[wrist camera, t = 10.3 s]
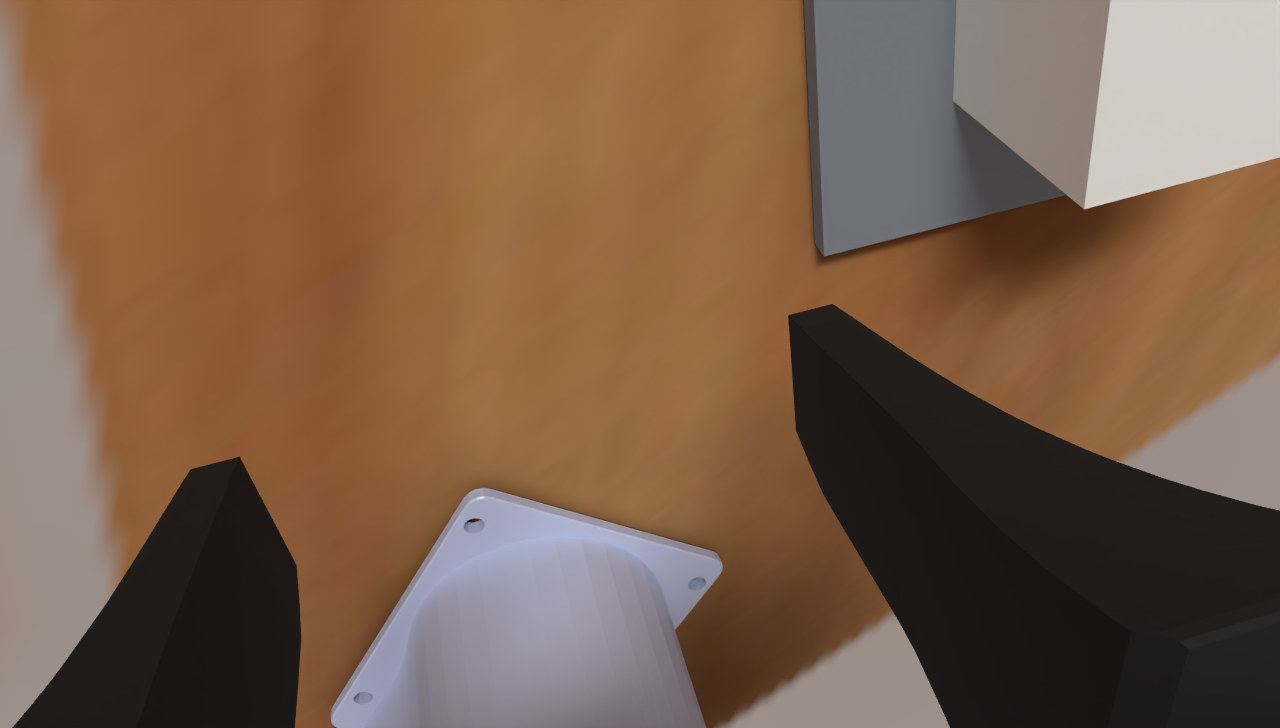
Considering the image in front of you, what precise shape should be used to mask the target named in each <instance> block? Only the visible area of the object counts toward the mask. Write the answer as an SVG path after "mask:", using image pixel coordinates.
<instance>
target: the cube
mask: <svg viewBox="0 0 1280 728" xmlns="http://www.w3.org/2000/svg"><path fill="white" fill-rule="evenodd" d="M953 101H954V102H955V103H956V104H957V105H959V106H960V107H961V108H962V109H963V110H965V111H966V112H967V113H968V114H969V115H971V116H972V117H973V118H974V119H975V120H977V121H978V122H979V123H980V124H982V125H983V126H984V127H985V128H986V129H988V130H989V131H990V132H991V133H992V134H994V135H995V136H996V137H997V138H998V139H1000V140H1001V141H1002V142H1003V143H1005V144H1006V145H1007V146H1008V147H1009V148H1011V149H1012V150H1013V151H1014V152H1015V153H1017V154H1018V155H1019V156H1020V157H1021V158H1023V159H1024V160H1025V161H1026V162H1027V163H1029V164H1030V165H1031V166H1032V167H1034V168H1035V169H1036V170H1037V171H1038V172H1040V173H1041V174H1042V175H1043V176H1044V177H1046V178H1047V179H1048V180H1049V181H1050V182H1052V183H1053V184H1054V185H1055V186H1056V187H1058V188H1059V189H1060V190H1061V191H1063V192H1064V193H1065V194H1066V195H1067V196H1069V197H1070V198H1071V199H1072V200H1073V201H1075V202H1076V203H1077V204H1078V205H1079V206H1081V207H1082V208H1083V209H1087V208H1091V207H1095V206H1098V205H1102V204H1106V203H1110V202H1114V201H1117V200H1121V199H1125V198H1129V197H1132V196H1136V195H1140V194H1144V193H1147V192H1151V191H1155V190H1159V189H1162V188H1166V187H1170V186H1174V185H1177V184H1181V183H1185V182H1189V181H1192V180H1196V179H1200V178H1204V177H1207V176H1211V175H1215V174H1219V173H1222V172H1226V171H1230V170H1234V169H1238V168H1241V167H1245V166H1249V165H1253V164H1256V163H1260V162H1264V161H1268V160H1271V159H1275V158H1279V157H1280V0H956V30H955V59H954V89H953Z"/></svg>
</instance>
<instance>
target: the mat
mask: <svg viewBox="0 0 1280 728" xmlns="http://www.w3.org/2000/svg"><path fill="white" fill-rule="evenodd" d="M804 20H805V41H806V63H807V85H808V107H809V129H810V151H811V173H812V194H813V216H814V238H815V245H816V246H817V247H818V249H819V250H820V252H821V253H822V254H823V256H828V255H832V254H836V253H840V252H844V251H848V250H852V249H856V248H860V247H864V246H868V245H871V244H875V243H879V242H883V241H887V240H891V239H895V238H899V237H903V236H907V235H911V234H915V233H919V232H923V231H927V230H931V229H935V228H939V227H943V226H947V225H951V224H954V223H958V222H962V221H966V220H970V219H974V218H978V217H982V216H986V215H990V214H994V213H998V212H1002V211H1006V210H1010V209H1014V208H1018V207H1022V206H1026V205H1030V204H1034V203H1037V202H1041V201H1045V200H1049V199H1053V198H1057V197H1061V196H1065V195H1066V194H1065V193H1064V192H1063V191H1061V190H1060V189H1059V188H1058V187H1056V186H1055V185H1054V184H1053V183H1052V182H1050V181H1049V180H1048V179H1047V178H1046V177H1044V176H1043V175H1042V174H1041V173H1040V172H1038V171H1037V170H1036V169H1035V168H1034V167H1032V166H1031V165H1030V164H1029V163H1027V162H1026V161H1025V160H1024V159H1023V158H1021V157H1020V156H1019V155H1018V154H1017V153H1015V152H1014V151H1013V150H1012V149H1011V148H1009V147H1008V146H1007V145H1006V144H1005V143H1003V142H1002V141H1001V140H1000V139H998V138H997V137H996V136H995V135H994V134H992V133H991V132H990V131H989V130H988V129H986V128H985V127H984V126H983V125H982V124H980V123H979V122H978V121H977V120H975V119H974V118H973V117H972V116H971V115H969V114H968V113H967V112H966V111H965V110H963V109H962V108H961V107H960V106H959V105H957V104H956V103H955V102H954V101H953V89H954V59H955V30H956V0H804Z"/></svg>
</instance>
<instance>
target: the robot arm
mask: <svg viewBox="0 0 1280 728" xmlns="http://www.w3.org/2000/svg"><path fill="white" fill-rule="evenodd" d="M788 318H789V332H790V347H791V362H792V377H793V392H794V406H795V421H796V432H797V434H798V437H799V439H800V441H801V444H802V446H803V448H804V451H805V453H806V456H807V458H808V460H809V463H810V465H811V468H812V470H813V472H814V474H815V477H816V479H817V481H818V483H819V486H820V488H821V490H822V492H823V494H824V496H825V498H826V500H827V501H828V503H829V505H830V506H831V508H832V510H833V512H834V513H835V515H836V517H837V518H838V520H839V522H840V523H841V525H842V527H843V529H844V530H845V532H846V534H847V535H848V537H849V539H850V540H851V542H852V544H853V545H854V547H855V549H856V550H857V552H858V554H859V555H860V557H861V559H862V560H863V562H864V564H865V565H866V567H867V569H868V570H869V572H870V574H871V575H872V577H873V579H874V580H875V582H876V584H877V586H878V587H879V589H880V591H881V592H882V594H883V596H884V597H885V599H886V601H887V602H888V604H889V606H890V607H891V609H892V611H893V612H894V614H895V616H896V617H897V619H898V621H899V622H900V624H901V626H902V628H903V630H904V631H905V633H906V635H907V637H908V639H909V641H910V643H911V644H912V646H913V648H914V650H915V652H916V654H917V656H918V658H919V661H920V663H921V665H922V667H923V669H924V672H925V674H926V676H927V678H928V680H929V682H930V685H931V687H932V689H933V691H934V693H935V695H936V697H937V699H938V702H939V704H940V706H941V708H942V710H943V713H944V715H945V717H946V719H947V721H948V724H949V726H950V728H1280V511H1279V510H1275V509H1270V508H1266V507H1261V506H1258V505H1254V504H1250V503H1246V502H1242V501H1239V500H1235V499H1232V498H1228V497H1224V496H1221V495H1217V494H1214V493H1210V492H1206V491H1202V490H1199V489H1196V488H1192V487H1189V486H1186V485H1183V484H1180V483H1177V482H1173V481H1170V480H1167V479H1164V478H1161V477H1158V476H1155V475H1153V474H1150V473H1147V472H1144V471H1141V470H1139V469H1136V468H1133V467H1130V466H1127V465H1125V464H1122V463H1119V462H1116V461H1113V460H1111V459H1108V458H1106V457H1103V456H1101V455H1098V454H1096V453H1093V452H1090V451H1088V450H1086V449H1083V448H1081V447H1079V446H1076V445H1074V444H1072V443H1070V442H1067V441H1065V440H1063V439H1061V438H1058V437H1056V436H1054V435H1052V434H1049V433H1047V432H1045V431H1043V430H1040V429H1038V428H1036V427H1034V426H1032V425H1030V424H1028V423H1026V422H1024V421H1022V420H1020V419H1017V418H1016V417H1014V416H1012V415H1010V414H1008V413H1006V412H1004V411H1002V410H1000V409H999V408H997V407H995V406H993V405H991V404H989V403H987V402H986V401H984V400H982V399H980V398H978V397H976V396H974V395H973V394H971V393H969V392H967V391H966V390H964V389H962V388H961V387H959V386H957V385H955V384H954V383H952V382H950V381H949V380H947V379H946V378H944V377H942V376H941V375H939V374H938V373H936V372H934V371H933V370H931V369H929V368H928V367H926V366H925V365H923V364H921V363H920V362H918V361H917V360H915V359H914V358H912V357H911V356H909V355H908V354H906V353H905V352H903V351H902V350H900V349H899V348H897V347H896V346H894V345H893V344H891V343H890V342H888V341H887V340H885V339H884V338H882V337H881V336H879V335H878V334H876V333H875V332H873V331H872V330H870V329H869V328H867V327H866V326H865V325H863V324H862V323H860V322H859V321H857V320H856V319H854V318H853V317H851V316H850V315H848V314H847V313H845V312H844V311H842V310H841V309H839V308H838V307H836V306H835V305H833V304H831V305H827V306H823V307H819V308H815V309H811V310H807V311H803V312H800V313H796V314H792V315H788ZM473 518H477V519H480V520H479V521H477V522H474V523H471V522H467V521H468V520H470V519H473ZM722 570H723V564H722V562H721V559H720V557H719V555H718V554H717V553H715V552H713V551H710V550H707V549H703V548H700V547H696V546H693V545H689V544H685V543H682V542H678V541H675V540H671V539H668V538H664V537H661V536H657V535H653V534H650V533H646V532H643V531H639V530H636V529H632V528H628V527H625V526H621V525H618V524H614V523H611V522H607V521H604V520H600V519H596V518H593V517H589V516H586V515H582V514H579V513H575V512H571V511H568V510H564V509H561V508H557V507H554V506H550V505H547V504H543V503H539V502H536V501H532V500H529V499H525V498H522V497H518V496H514V495H511V494H507V493H504V492H500V491H497V490H493V489H488V488H480V489H475V490H473V491H471V492H469V493H468V494H467V495H466V496H465V497H464V498H463V500H462V501H461V503H460V505H459V506H458V508H457V509H456V511H455V513H454V514H453V516H452V517H451V519H450V521H449V522H448V524H447V525H446V527H445V528H444V530H443V532H442V533H441V535H440V536H439V538H438V540H437V541H436V543H435V544H434V546H433V548H432V549H431V551H430V552H429V554H428V556H427V557H426V559H425V560H424V562H423V563H422V565H421V567H420V568H419V570H418V571H417V573H416V575H415V576H414V578H413V579H412V581H411V583H410V584H409V586H408V587H407V589H406V591H405V592H404V594H403V595H402V597H401V599H400V600H399V602H398V603H397V605H396V606H395V608H394V610H393V611H392V613H391V614H390V616H389V618H388V619H387V621H386V622H385V624H384V626H383V627H382V629H381V630H380V632H379V634H378V635H377V637H376V638H375V640H374V641H373V643H372V645H371V646H370V648H369V649H368V651H367V653H366V654H365V656H364V657H363V659H362V661H361V662H360V664H359V665H358V667H357V669H356V670H355V672H354V673H353V675H352V676H351V678H350V680H349V681H348V683H347V684H346V686H345V688H344V689H343V691H342V692H341V694H340V696H339V697H338V699H337V700H336V702H335V704H334V705H333V707H332V710H331V722H332V725H334V726H335V727H336V728H706V726H705V723H704V719H703V716H702V713H701V710H700V707H699V704H698V701H697V698H696V695H695V691H694V688H693V685H692V682H691V679H690V676H689V673H688V670H687V667H686V663H685V660H684V657H683V654H682V651H681V648H680V645H679V642H678V639H677V635H676V632H675V630H676V628H677V627H678V626H679V625H680V624H681V622H682V621H683V620H684V619H685V617H686V616H687V615H688V614H689V612H690V611H691V610H692V609H693V607H694V606H695V605H696V604H697V603H698V601H699V600H700V599H701V598H702V596H703V595H704V594H705V593H706V591H707V590H708V589H709V588H710V586H711V585H712V584H713V583H714V581H715V580H716V579H717V578H718V577H719V575H720V574H721V572H722ZM697 577H699V578H697ZM694 578H697V579H694ZM692 579H694V580H692ZM300 648H301V624H300V604H299V591H298V578H297V565H296V563H295V561H294V559H293V557H292V556H291V554H290V552H289V550H288V548H287V546H286V544H285V542H284V540H283V538H282V537H281V535H280V533H279V531H278V529H277V527H276V525H275V523H274V521H273V519H272V518H271V516H270V514H269V512H268V510H267V508H266V506H265V504H264V502H263V500H262V499H261V497H260V495H259V493H258V491H257V489H256V487H255V485H254V483H253V481H252V480H251V478H250V476H249V474H248V472H247V470H246V468H245V466H244V464H243V462H242V461H241V459H240V457H237V458H233V459H229V460H225V461H221V462H218V463H214V464H210V465H206V466H202V467H198V468H194V469H191V470H190V471H189V473H188V475H187V476H186V478H185V479H184V481H183V482H182V484H181V486H180V487H179V489H178V490H177V492H176V493H175V495H174V497H173V498H172V500H171V502H170V503H169V505H168V506H167V508H166V510H165V511H164V513H163V514H162V516H161V518H160V519H159V521H158V523H157V524H156V526H155V528H154V529H153V531H152V532H151V534H150V536H149V537H148V539H147V541H146V542H145V544H144V545H143V547H142V549H141V550H140V552H139V554H138V555H137V557H136V558H135V560H134V562H133V563H132V565H131V566H130V568H129V569H128V571H127V572H126V574H125V576H124V577H123V579H122V580H121V582H120V583H119V585H118V586H117V588H116V589H115V591H114V593H113V594H112V596H111V597H110V599H109V600H108V602H107V603H106V605H105V606H104V608H103V609H102V611H101V612H100V613H99V615H98V616H97V618H96V619H95V620H94V622H93V623H92V625H91V626H90V628H89V629H88V630H87V632H86V633H85V635H84V636H83V637H82V639H81V640H80V642H79V643H78V645H77V646H76V647H75V649H74V650H73V652H72V653H71V654H70V656H69V657H68V659H67V660H66V662H65V663H64V664H63V666H62V667H61V668H60V670H59V671H58V672H57V673H56V675H55V676H54V678H53V679H52V680H51V681H50V683H49V684H48V685H47V686H46V688H45V689H44V690H43V692H42V693H41V694H40V695H39V696H38V698H37V699H36V700H35V702H34V703H33V704H32V705H31V707H30V708H29V709H28V710H27V711H26V712H25V713H24V715H23V716H22V717H21V718H20V719H19V721H18V722H17V723H16V724H15V725H14V727H13V728H295V717H296V705H297V691H298V677H299V663H300Z"/></svg>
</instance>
